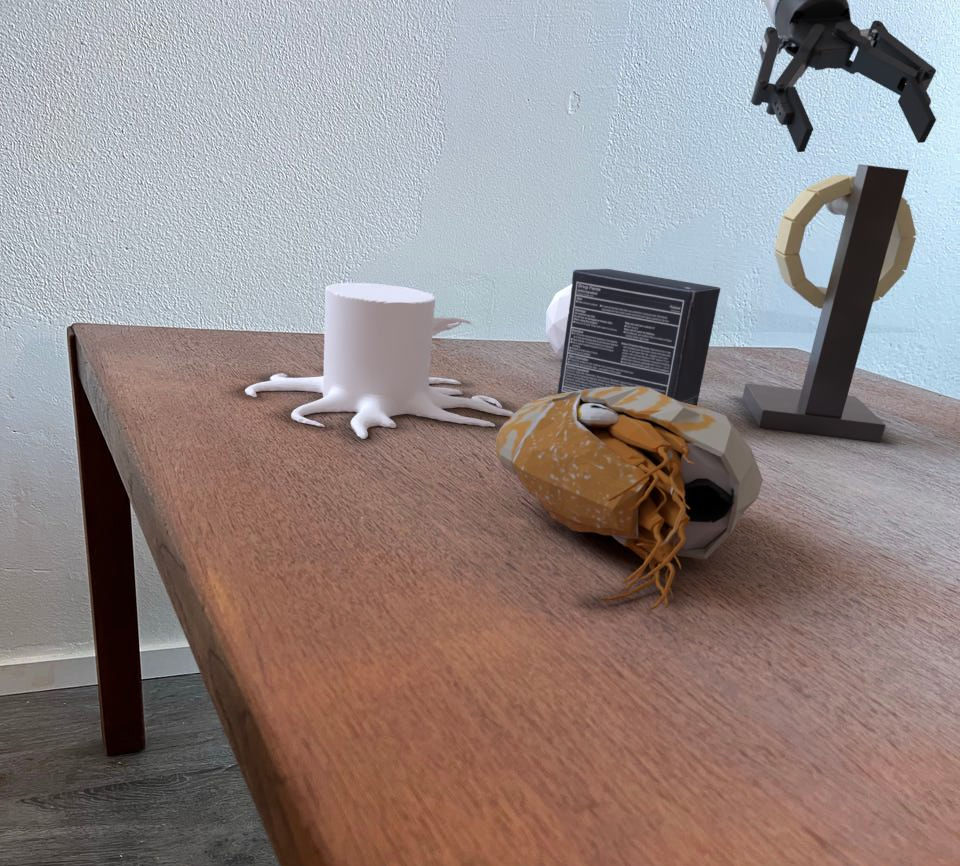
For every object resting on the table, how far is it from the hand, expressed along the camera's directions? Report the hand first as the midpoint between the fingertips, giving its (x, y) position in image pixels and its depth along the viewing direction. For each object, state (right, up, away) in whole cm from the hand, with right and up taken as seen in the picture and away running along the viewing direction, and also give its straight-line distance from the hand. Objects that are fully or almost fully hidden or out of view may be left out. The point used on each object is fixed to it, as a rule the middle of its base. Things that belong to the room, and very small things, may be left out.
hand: (866, 136), depth 104 cm
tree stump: (-49, -34, -26) cm, 65 cm away
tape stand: (-12, -33, -16) cm, 39 cm away
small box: (-28, -34, -21) cm, 49 cm away
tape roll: (-11, -24, -19) cm, 33 cm away
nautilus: (-33, -48, -49) cm, 76 cm away
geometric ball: (-31, -25, -6) cm, 40 cm away
